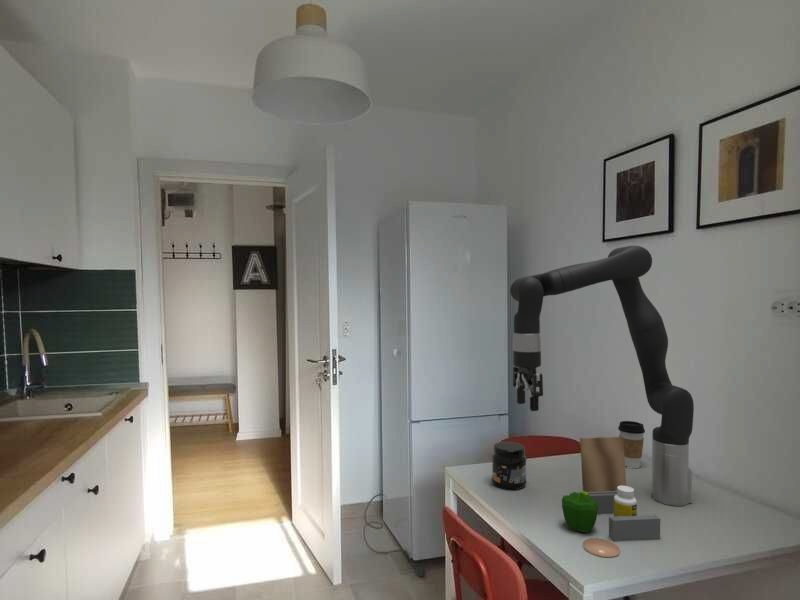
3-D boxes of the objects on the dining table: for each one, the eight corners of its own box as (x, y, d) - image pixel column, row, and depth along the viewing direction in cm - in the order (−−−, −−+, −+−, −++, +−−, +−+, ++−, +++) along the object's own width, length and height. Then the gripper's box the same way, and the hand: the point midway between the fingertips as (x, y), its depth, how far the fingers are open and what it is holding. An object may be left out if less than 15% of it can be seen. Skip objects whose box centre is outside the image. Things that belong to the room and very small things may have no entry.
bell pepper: (557, 520, 128) (557, 483, 128) (587, 519, 128) (587, 482, 128) (570, 536, 120) (570, 496, 119) (602, 535, 120) (603, 495, 120)
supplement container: (488, 477, 157) (488, 441, 157) (520, 477, 158) (521, 440, 157) (496, 491, 147) (496, 451, 147) (530, 490, 147) (530, 451, 147)
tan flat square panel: (626, 490, 133) (624, 489, 134) (623, 437, 135) (621, 436, 136) (584, 492, 132) (582, 491, 133) (581, 438, 134) (579, 437, 135)
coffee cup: (621, 469, 165) (622, 425, 164) (614, 460, 173) (615, 418, 173) (648, 470, 163) (648, 426, 163) (640, 462, 172) (640, 419, 171)
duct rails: (624, 509, 134) (624, 491, 134) (660, 538, 119) (660, 518, 118) (582, 511, 133) (582, 493, 133) (612, 541, 118) (613, 520, 117)
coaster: (608, 539, 118) (608, 537, 118) (626, 557, 111) (626, 555, 111) (577, 540, 118) (577, 538, 118) (592, 558, 110) (593, 556, 110)
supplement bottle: (635, 533, 121) (635, 494, 121) (611, 527, 124) (612, 489, 124) (637, 524, 126) (638, 487, 126) (615, 519, 129) (615, 482, 129)
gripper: (551, 351, 129) (552, 412, 129) (528, 345, 143) (528, 400, 143) (525, 352, 128) (525, 414, 128) (504, 346, 142) (504, 402, 142)
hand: (527, 407), depth 136 cm, fingers open, 8 cm apart
